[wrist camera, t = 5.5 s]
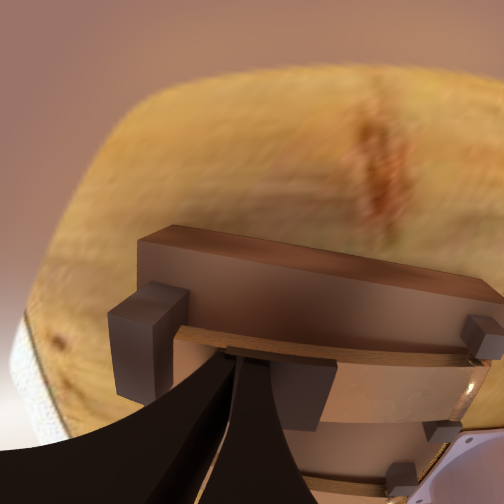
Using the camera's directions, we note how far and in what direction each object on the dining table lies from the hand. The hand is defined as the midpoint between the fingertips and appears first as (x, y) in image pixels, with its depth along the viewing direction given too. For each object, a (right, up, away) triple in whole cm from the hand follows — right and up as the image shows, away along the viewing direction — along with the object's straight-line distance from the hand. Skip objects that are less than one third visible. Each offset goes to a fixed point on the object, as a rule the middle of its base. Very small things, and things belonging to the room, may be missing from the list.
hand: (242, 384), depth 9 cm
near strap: (+3, 0, +1) cm, 3 cm away
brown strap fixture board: (+3, -3, +6) cm, 7 cm away
